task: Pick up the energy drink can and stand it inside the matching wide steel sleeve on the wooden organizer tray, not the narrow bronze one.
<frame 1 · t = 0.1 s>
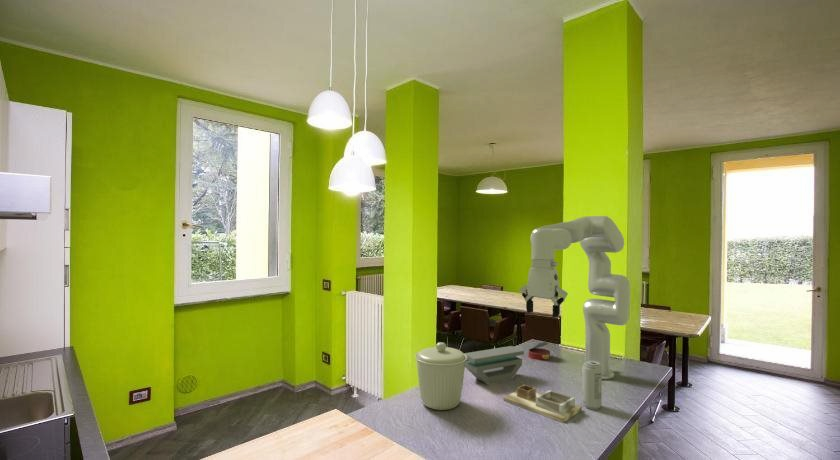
hand: (542, 314, 136), 31 cm above the countertop, tool pointing down, fingers open, 9 cm apart
canned food: (539, 357, 190), on the countertop
wooden organizer tray: (541, 405, 136), on the countertop
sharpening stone: (493, 379, 161), on the countertop
energy drink can: (591, 407, 135), on the countertop
canister: (440, 404, 137), on the countertop
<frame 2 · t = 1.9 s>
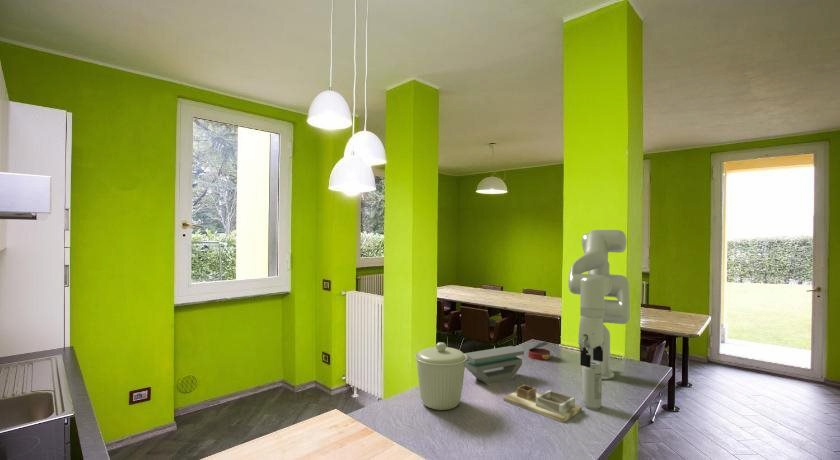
hand: (591, 363, 135), 15 cm above the countertop, tool pointing down, fingers open, 9 cm apart
nothing on the countertop moved.
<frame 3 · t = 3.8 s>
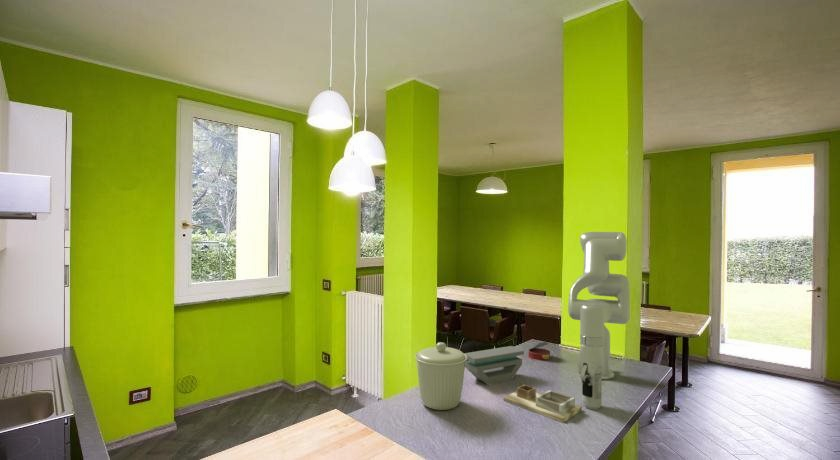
hand: (591, 392, 135), 5 cm above the countertop, tool pointing down, fingers closed on energy drink can, 6 cm apart
energy drink can: (591, 407, 135), on the countertop, touching gripper
everything else where it was.
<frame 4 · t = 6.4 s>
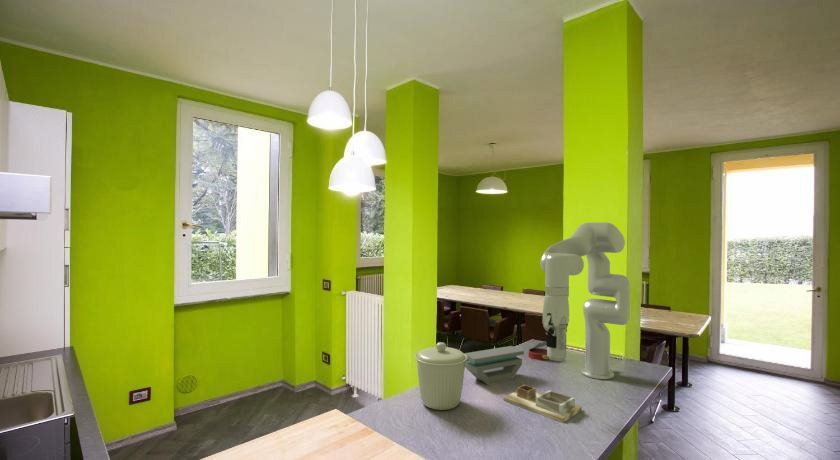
hand: (556, 344, 133), 22 cm above the countertop, tool pointing down, fingers closed on energy drink can, 6 cm apart
energy drink can: (556, 359, 133), point 17 cm above the countertop, touching gripper
everything else where it was.
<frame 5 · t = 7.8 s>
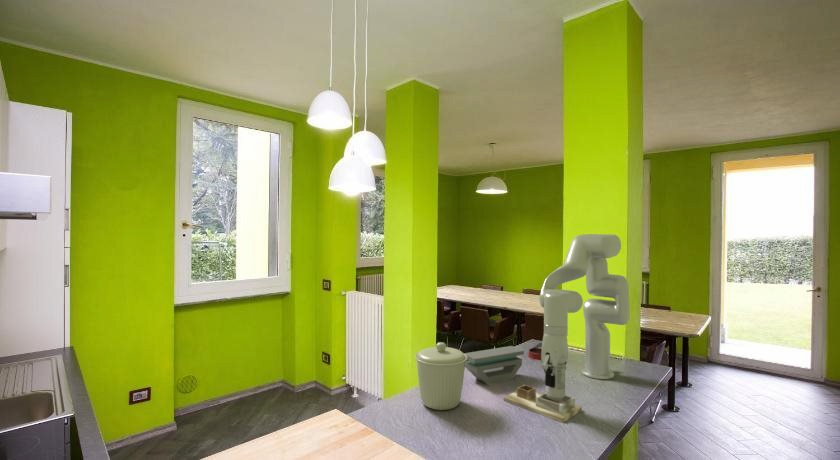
hand: (555, 383, 132), 9 cm above the countertop, tool pointing down, fingers closed on energy drink can, 6 cm apart
energy drink can: (555, 397, 132), point 4 cm above the countertop, touching gripper
everything else where it was.
when the fingers open (7 cm above the countertop, at t = 8.9 s): energy drink can drops 1 cm, resting on wooden organizer tray.
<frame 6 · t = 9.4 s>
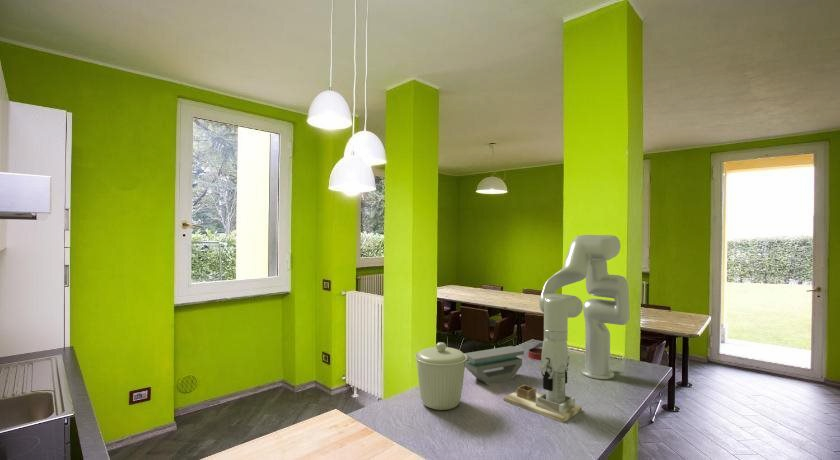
hand: (555, 386, 132), 8 cm above the countertop, tool pointing down, fingers open, 9 cm apart
energy drink can: (555, 406, 133), point 1 cm above the countertop, touching wooden organizer tray
everything else where it was.
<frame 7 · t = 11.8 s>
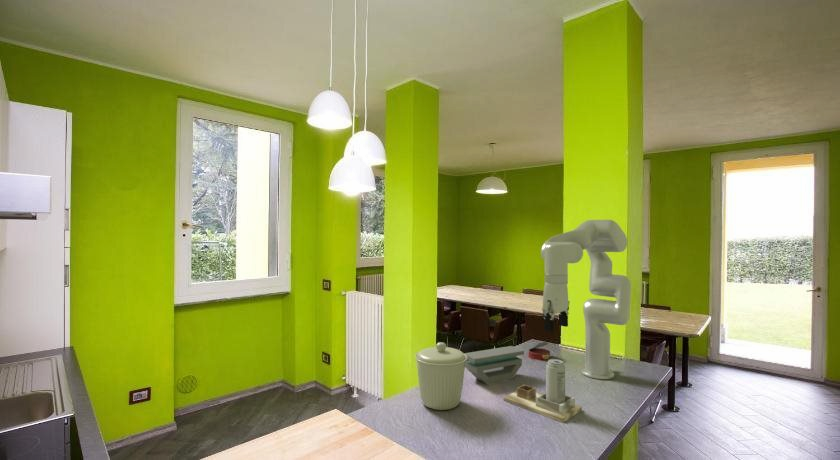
hand: (556, 328, 137), 26 cm above the countertop, tool pointing down, fingers open, 9 cm apart
nothing on the countertop moved.
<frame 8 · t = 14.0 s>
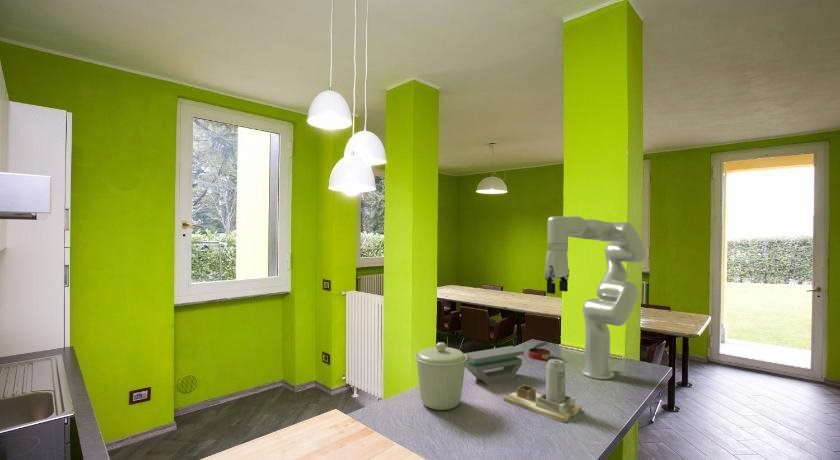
hand: (557, 292, 154), 36 cm above the countertop, tool pointing down, fingers open, 9 cm apart
nothing on the countertop moved.
at the end: energy drink can 0.3 cm from the target spot on the wooden organizer tray, point 1.0 cm above the wooden organizer tray's base; energy drink can tilted 0°; the gripper is holding nothing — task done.
